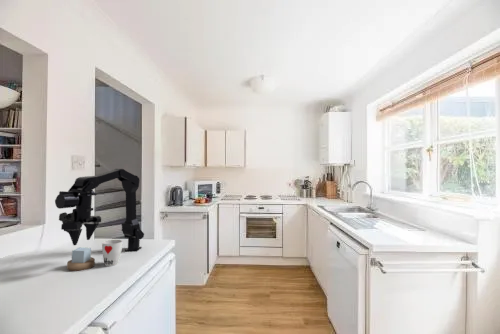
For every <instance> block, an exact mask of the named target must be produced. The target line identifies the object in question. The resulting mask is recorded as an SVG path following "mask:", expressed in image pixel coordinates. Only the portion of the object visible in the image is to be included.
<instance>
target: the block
mask: <svg viewBox="0 0 500 334" xmlns="http://www.w3.org/2000/svg"><path fill="white" fill-rule="evenodd" d="M91 254H92V247H77V248H75V249H73V250H72V251H71V260H72V263H84V262H86V261H88V260H90V259H91V257H92V255H91Z"/></svg>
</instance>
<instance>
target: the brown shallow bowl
mask: <svg viewBox="0 0 500 334" xmlns="http://www.w3.org/2000/svg"><path fill="white" fill-rule="evenodd" d="M95 262H96V260H95V258H94V257H92V256H91V259H90V260H88V261H86V262H84V263H72V259H70V260H68V261H67V264H66V270H67V271H70V272H79V271H85V270H90V269H92V268H94V266H95V264H96V263H95Z"/></svg>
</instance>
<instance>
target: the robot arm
mask: <svg viewBox="0 0 500 334" xmlns="http://www.w3.org/2000/svg"><path fill="white" fill-rule="evenodd" d="M115 179H117V180H118V181H119V182H121V186H122V189H123V191H124V192H125V221H124V222H122V223H121V232H122V234H123V237H124V238H126V239H127V248H126V249H124V251H126V252H138V251H139V250H141V249H142V248H143V247H142V246H140V240H141V239H143V238H144V237H145V233H144V231H142V229H141V225H140V222H139V221H138V219H137V190H138V189H139V188H140V177H138V175H134V174H133V173H131V172H130V171H127V170H125V169H124V168H115V169H112V170H109V171H106V172H102V173H98V174H95V175H91V176H89V175H88V176H78V177H77V178H75V181H74V183H73V184H72V185H71V187H70V188H69V189H68V191H58V195H57V196H56V197H55V199H54V202H55V206H56V208H57V209H68V208H69V209H70V208H73V209H72V211H71V212H70V213H67V212H66V211H65V212H61V213H59V216H58V221H60V222H61V228H60V229H61V230H63V232H66V233H68V234H69V237H70V240H71V242H72V246H77V245H78V242H79V240H80V236H81V233H82V231H83V228H82V227H83V226H84V228H85V232H86V233H85V235H86V240H87V241H89V240H91V238H92V237H93V234H94V232H95V231H96V229H97V228H98V226H99V225H100V223H101V222H102V217H101V216H100V215H92V211H94V207H92V204H93V203H92V200H93V196H97V195H98V194H97V193H96V192H95V191H94V189H96V188H98V187H99V186H100V185H101V184H104V183H107V182H109V181H112V180H115Z"/></svg>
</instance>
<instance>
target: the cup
mask: <svg viewBox="0 0 500 334" xmlns="http://www.w3.org/2000/svg"><path fill="white" fill-rule="evenodd" d="M101 246H102V247H101V248H102V249H101V250H102V251H101V252H102V260H103V264H104V266H105V267H113V266H117V265H118V264H119V261H120V258H121V254H122V250H123V249H122V248H123V240H122V239H107V240H104V241H102V242H101Z"/></svg>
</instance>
